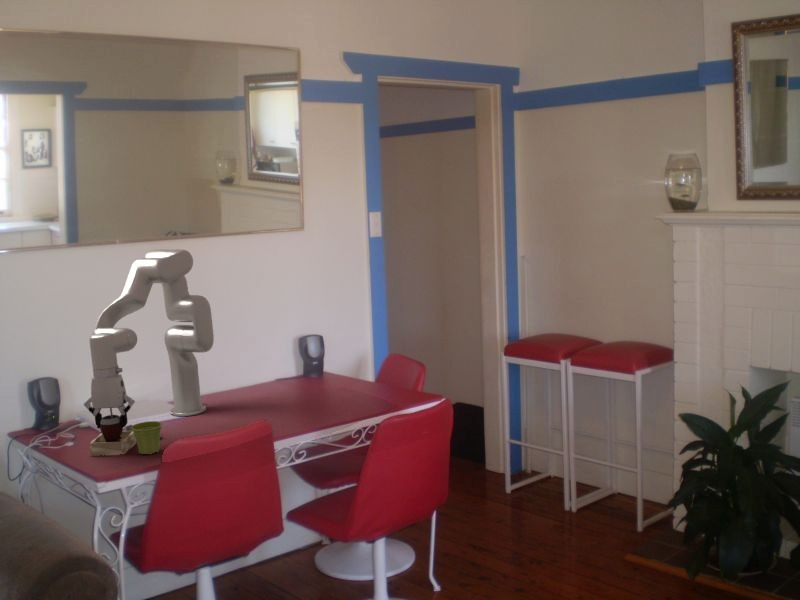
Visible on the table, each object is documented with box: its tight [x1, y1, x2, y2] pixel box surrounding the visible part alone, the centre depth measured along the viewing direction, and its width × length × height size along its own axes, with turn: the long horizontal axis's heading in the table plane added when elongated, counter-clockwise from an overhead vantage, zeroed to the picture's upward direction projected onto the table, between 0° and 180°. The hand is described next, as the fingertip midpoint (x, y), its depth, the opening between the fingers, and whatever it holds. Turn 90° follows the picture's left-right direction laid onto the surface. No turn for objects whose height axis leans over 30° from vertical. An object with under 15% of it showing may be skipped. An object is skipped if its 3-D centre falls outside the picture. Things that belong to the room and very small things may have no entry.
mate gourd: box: [99, 408, 124, 442], centre depth 299 cm, size 8×8×15 cm
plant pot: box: [131, 420, 163, 455], centre depth 295 cm, size 9×9×9 cm
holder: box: [89, 430, 137, 457], centre depth 300 cm, size 12×11×4 cm
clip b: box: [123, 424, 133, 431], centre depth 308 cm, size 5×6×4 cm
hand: (112, 426), depth 299 cm, fingers closed on mate gourd, 7 cm apart
